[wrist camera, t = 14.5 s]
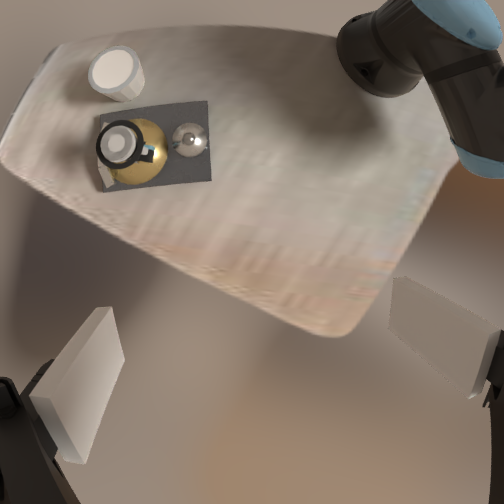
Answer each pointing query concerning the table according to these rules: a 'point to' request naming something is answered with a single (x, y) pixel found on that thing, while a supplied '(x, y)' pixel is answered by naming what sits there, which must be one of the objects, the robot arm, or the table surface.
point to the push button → (123, 145)
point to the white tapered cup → (117, 73)
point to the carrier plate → (164, 146)
